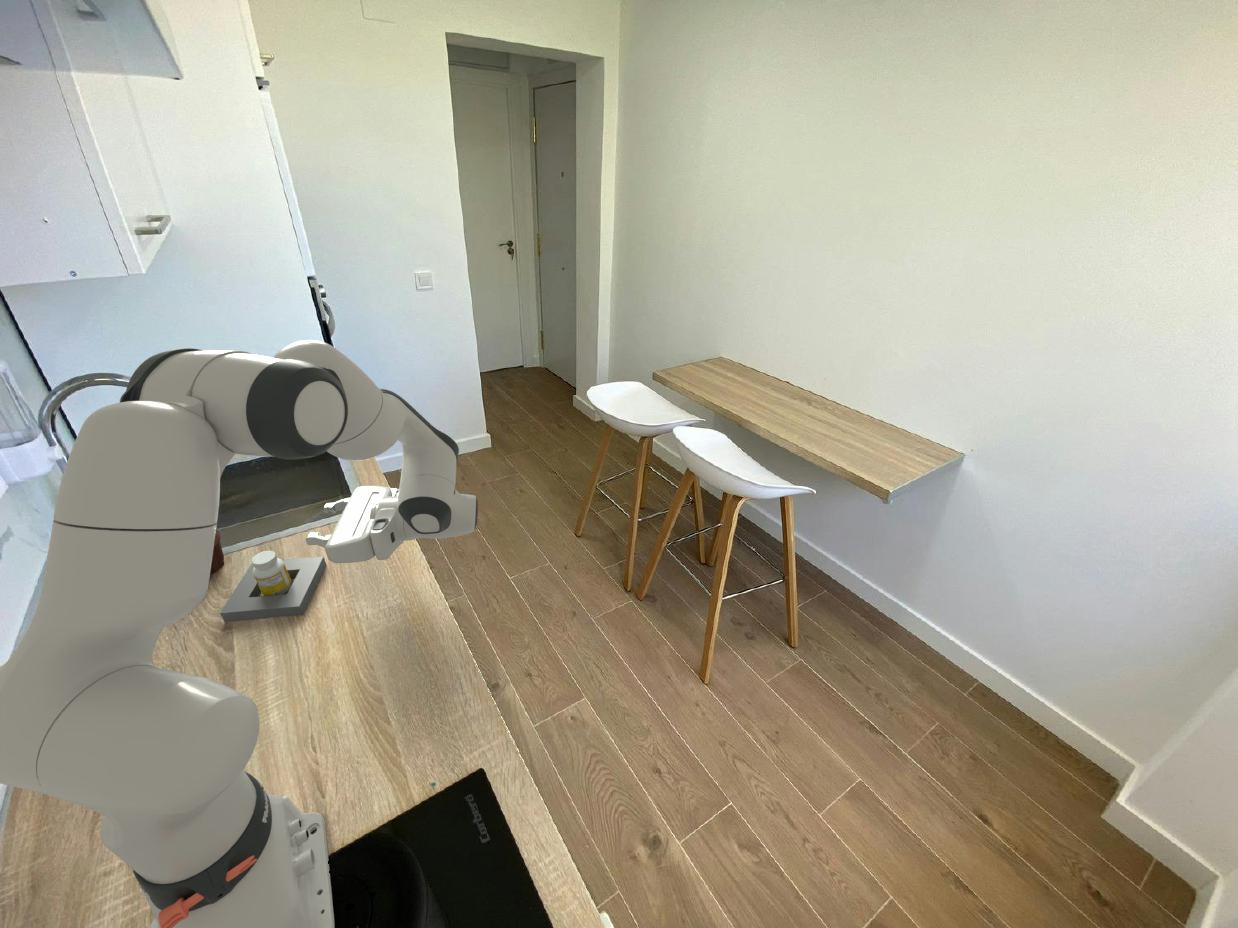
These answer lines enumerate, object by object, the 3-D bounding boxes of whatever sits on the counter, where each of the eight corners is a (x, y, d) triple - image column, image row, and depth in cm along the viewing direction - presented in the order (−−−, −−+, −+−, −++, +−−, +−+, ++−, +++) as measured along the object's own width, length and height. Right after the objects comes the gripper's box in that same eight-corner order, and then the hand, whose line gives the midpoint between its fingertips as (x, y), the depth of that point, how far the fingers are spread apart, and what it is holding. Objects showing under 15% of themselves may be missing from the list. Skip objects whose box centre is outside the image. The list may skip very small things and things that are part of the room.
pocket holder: (326, 564, 111) (323, 556, 109) (303, 614, 99) (299, 606, 98) (256, 570, 109) (252, 561, 107) (224, 621, 97) (219, 613, 96)
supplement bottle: (284, 602, 102) (268, 567, 96) (258, 600, 102) (240, 566, 96) (299, 582, 106) (285, 548, 101) (274, 581, 106) (258, 547, 101)
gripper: (401, 476, 105) (330, 479, 103) (377, 539, 88) (290, 544, 86) (406, 501, 108) (337, 504, 106) (384, 566, 91) (301, 572, 89)
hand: (316, 523), depth 96 cm, fingers open, 8 cm apart
